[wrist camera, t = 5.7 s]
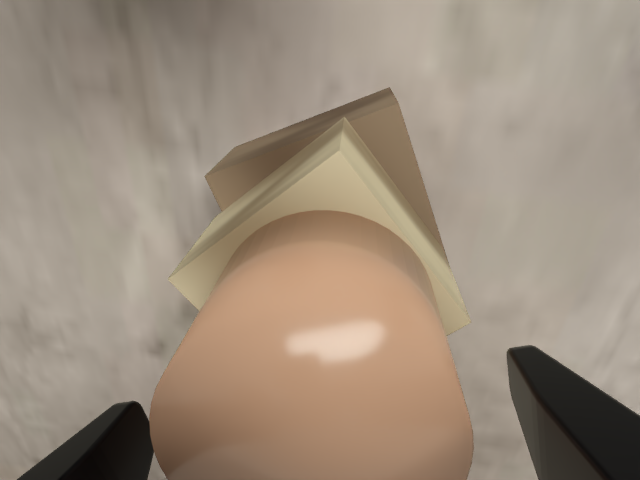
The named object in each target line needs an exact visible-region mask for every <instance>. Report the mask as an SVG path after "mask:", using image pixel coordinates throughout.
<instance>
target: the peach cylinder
mask: <svg viewBox="0 0 640 480" xmlns="http://www.w3.org/2000/svg"><path fill="white" fill-rule="evenodd" d="M149 423H150V436H151V441H152V445H153V450H154V452H155V455H156V458H157V460H158V463H159V465H160V467H161V469H162V470H163V472H164V474H165V476H166V477H167V479H168V480H466V479H467V476H468V473H469V470H470V467H471V464H472V457H473V450H474V447H473V430H472V426H471V421H470V417H469V413H468V410H467V406H466V403H465V399H464V396H463V392H462V389H461V385H460V382H459V378H458V375H457V371H456V368H455V364H454V361H453V357H452V354H451V350H450V347H449V343H448V340H447V336H446V333H445V329H444V326H443V322H442V319H441V315H440V312H439V309H438V305H437V302H436V298H435V295H434V291H433V288H432V284H431V281H430V279H429V276H428V273H427V271H426V269H425V267H424V265H423V264H422V262H421V260H420V259H419V257H418V256H417V255H416V253H415V252H414V251H413V250H412V248H411V247H410V246H409V245H408V244H407V243H406V242H405V241H403V240H402V239H401V238H400V237H399V236H398V235H396V234H395V233H393V232H392V231H391V230H389V229H388V228H386V227H384V226H382V225H380V224H379V223H377V222H375V221H372V220H370V219H367V218H365V217H362V216H359V215H355V214H351V213H347V212H340V211H332V210H313V211H305V212H298V213H295V214H291V215H287V216H284V217H281V218H279V219H276V220H274V221H271V222H269V223H268V224H266V225H264V226H262V227H261V228H259V229H258V230H256V231H255V232H254V233H252V234H251V235H250V236H248V237H247V238H246V239H245V240H244V241H243V242H242V243H241V244H240V246H239V247H238V248H237V249H236V251H235V252H234V254H233V255H232V256H231V258H230V260H229V261H228V263H227V265H226V267H225V268H224V270H223V272H222V273H221V275H220V277H219V279H218V280H217V282H216V284H215V285H214V287H213V289H212V291H211V292H210V294H209V296H208V298H207V299H206V301H205V303H204V304H203V306H202V308H201V310H200V311H199V313H198V315H197V316H196V318H195V320H194V322H193V323H192V325H191V327H190V328H189V330H188V332H187V334H186V335H185V337H184V339H183V340H182V342H181V344H180V346H179V347H178V349H177V351H176V353H175V354H174V356H173V358H172V359H171V361H170V363H169V365H168V366H167V368H166V370H165V371H164V373H163V375H162V377H161V379H160V381H159V383H158V385H157V387H156V389H155V393H154V396H153V399H152V402H151V409H150V417H149Z"/></svg>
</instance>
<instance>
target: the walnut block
mask: <svg viewBox="0 0 640 480" xmlns="http://www.w3.org/2000/svg"><path fill="white" fill-rule="evenodd" d="M343 117H345V118H346V119H347V121H348V122H349V123H350V125H351V126H352V127H353V129H354V130H355V131H356V133H357V134H358V135H359V137H360V138H361V139H362V141H363V142H364V143H365V145H366V146H367V147H368V149H369V150H370V151H371V153H372V154H373V156H374V157H375V158H376V160H377V161H378V162H379V164H380V165H381V166H382V168H383V169H384V170H385V172H386V173H387V174H388V176H389V177H390V178H391V180H392V181H393V182H394V184H395V185H396V186H397V188H398V189H399V190H400V192H401V193H402V195H403V196H404V197H405V199H406V200H407V201H408V203H409V204H410V205H411V207H412V208H413V209H414V211H415V212H416V213H417V215H418V216H419V217H420V219H421V220H422V221H423V223H424V224H425V225H426V227H427V228H428V229H429V231H430V232H431V234H432V235H433V236H434V238H435V239H436V240H437V242H438V243H439V244H440V246H441V247H442V248H443V251H444V253H445V250H444V247H443V244H442V241H441V238H440V234H439V231H438V228H437V225H436V222H435V218H434V215H433V212H432V209H431V206H430V202H429V199H428V196H427V193H426V190H425V186H424V183H423V180H422V177H421V174H420V170H419V167H418V164H417V161H416V158H415V154H414V151H413V148H412V145H411V142H410V138H409V135H408V132H407V129H406V126H405V122H404V119H403V116H402V113H401V110H400V106H399V103H398V101H397V100H396V98H395V96H394V94H393V92H392V91H391V89H390V87H389V88H387V89H384V90H381V91H379V92H376V93H374V94H371V95H369V96H366V97H363V98H361V99H358V100H356V101H353V102H350V103H348V104H345V105H343V106H340V107H337V108H335V109H332V110H330V111H327V112H325V113H322V114H319V115H317V116H314V117H312V118H309V119H306V120H304V121H301V122H299V123H296V124H294V125H291V126H288V127H286V128H283V129H281V130H278V131H275V132H273V133H270V134H268V135H265V136H262V137H260V138H257V139H255V140H252V141H250V142H247V143H244V144H242V145H239V146H237V147H235V148H233V149H232V150H231V151H230V152H229V153H228V154H227V155H226V156H225V157H224V158H223V159H222V160H221V161H220V162H219V163H218V164H217V165H216V166H215V167H214V168H213V169H212V170H211V171H210V172H209V173H207V174H206V175H205V178H206V180H207V182H208V184H209V186H210V188H211V190H212V192H213V195H214V197H215V199H216V201H217V203H218V205H219V207H220V209H221V211H224V210H225V209H226V208H228V207H229V206H230V205H231V204H233V203H234V202H235V201H237V200H238V199H239V198H240V197H242V196H243V195H244V194H246V193H247V192H248V191H249V190H251V189H252V188H253V187H255V186H256V185H257V184H258V183H260V182H261V181H262V180H264V179H265V178H266V177H267V176H269V175H270V174H271V173H273V172H274V171H275V170H276V169H278V168H279V167H280V166H282V165H283V164H284V163H286V162H287V161H288V160H289V159H291V158H292V157H293V156H295V155H296V154H297V153H298V152H300V151H301V150H302V149H304V148H305V147H306V146H307V145H309V144H310V143H311V142H313V141H314V140H315V139H316V138H318V137H319V136H320V135H322V134H323V133H324V132H325V131H327V130H328V129H329V128H331V127H332V126H333V125H334V124H336V123H337V122H338V121H340V120H341V119H342V118H343ZM445 256H446V254H445ZM446 258H447V257H446ZM447 261H448V260H447ZM448 264H449V263H448Z"/></svg>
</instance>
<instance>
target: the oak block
mask: <svg viewBox="0 0 640 480" xmlns="http://www.w3.org/2000/svg"><path fill="white" fill-rule="evenodd" d="M313 210H332V211H340V212H347V213H351V214H355V215H359V216H362V217H365V218H367V219H370V220H372V221H375V222H377V223H379V224H380V225H382V226H384V227H386V228H388V229H389V230H391V231H392V232H393V233H395V234H396V235H398V236H399V237H400V238H401V239H402V240H403V241H405V242H406V243H407V244H408V245H409V246H410V247H411V248H412V250H413V251H414V252H415V253H416V255H417V256H418V257H419V259H420V260H421V262H422V264H423V265H424V267H425V269H426V271H427V273H428V276H429V279H430V281H431V284H432V288H433V291H434V295H435V298H436V302H437V305H438V309H439V312H440V315H441V319H442V322H443V326H444V329H445V333H446V336H448V335H450V334H451V333H453V332H455V331H457V330H459V329H460V328H462V327H464V326H466V325H468V324H469V323H471V320H470V318H469V315H468V313H467V310H466V307H465V305H464V302H463V300H462V297H461V295H460V292H459V289H458V287H457V284H456V282H455V279H454V276H453V274H452V271H451V269H450V266H449V264H448V261H447V258H446V256H445V253H444V251H443V248H442V247H441V246H440V244H439V243H438V242H437V240H436V239H435V238H434V236H433V235H432V234H431V232H430V231H429V229H428V228H427V227H426V225H425V224H424V223H423V221H422V220H421V219H420V217H419V216H418V215H417V213H416V212H415V211H414V209H413V208H412V207H411V205H410V204H409V203H408V201H407V200H406V199H405V197H404V196H403V195H402V193H401V192H400V190H399V189H398V188H397V186H396V185H395V184H394V182H393V181H392V180H391V178H390V177H389V176H388V174H387V173H386V172H385V170H384V169H383V168H382V166H381V165H380V164H379V162H378V161H377V160H376V158H375V157H374V156H373V154H372V153H371V151H370V150H369V149H368V147H367V146H366V145H365V143H364V142H363V141H362V139H361V138H360V137H359V135H358V134H357V133H356V131H355V130H354V129H353V127H352V126H351V125H350V123H349V122H348V121H347V119H346V118H345V117H343V118H342V119H341V120H340V121H338V122H337V123H336V124H334V125H333V126H332V127H331V128H329V129H328V130H327V131H325V132H324V133H323V134H322V135H320V136H319V137H318V138H316V139H315V140H314V141H313V142H311V143H310V144H309V145H307V146H306V147H305V148H304V149H302V150H301V151H300V152H298V153H297V154H296V155H295V156H293V157H292V158H291V159H289V160H288V161H287V162H286V163H284V164H283V165H282V166H280V167H279V168H278V169H276V170H275V171H274V172H273V173H271V174H270V175H269V176H267V177H266V178H265V179H264V180H262V181H261V182H260V183H258V184H257V185H256V186H255V187H253V188H252V189H251V190H249V191H248V192H247V193H246V194H244V195H243V196H242V197H240V198H239V199H238V200H237V201H235V202H234V203H233V204H231V205H230V206H229V207H228V208H226V209H225V210H224V211H222V212H221V213H220V214H218V215H217V216H216V217H215V218H214V219H213V221H212V222H211V223H210V225H209V226H208V227H207V229H206V230H205V231H204V232H203V234H202V235H201V236H200V238H199V239H198V240H197V242H196V243H195V244H194V246H193V247H192V248H191V249H190V251H189V252H188V253H187V255H186V256H185V257H184V259H183V260H182V261H181V263H180V264H179V265H178V266H177V268H176V269H175V270H174V272H173V273H172V274H171V276H170V277H169V278H168V280H169V281H170V282H171V283H172V284H173V285H174V286H175V287H176V288H177V289H178V290H179V291H180V292H181V293H182V294H183V295H184V296H185V297H186V298H187V299H188V300H189V301H190V302H191V303H192V304H193V305H194V306H195V307H196V308H197V309H198V310H199V311H200V310H201V308H202V306H203V304H204V303H205V301H206V299H207V298H208V296H209V294H210V292H211V291H212V289H213V287H214V285H215V284H216V282H217V280H218V279H219V277H220V275H221V273H222V272H223V270H224V268H225V267H226V265H227V263H228V261H229V260H230V258H231V256H232V255H233V254H234V252H235V251H236V249H237V248H238V247H239V246H240V244H241V243H242V242H243V241H244V240H245V239H246V238H247V237H248V236H250V235H251V234H252V233H254V232H255V231H256V230H258V229H259V228H261V227H262V226H264V225H266V224H268V223H269V222H271V221H274V220H276V219H279V218H281V217H284V216H287V215H291V214H295V213H298V212H305V211H313Z"/></svg>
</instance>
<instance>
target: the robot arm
mask: <svg viewBox="0 0 640 480" xmlns="http://www.w3.org/2000/svg"><path fill="white" fill-rule="evenodd" d="M507 365H508V375H509V385H510V392H511V396H512V400H513V403H514V406H515V409H516V412H517V415H518V418H519V422H520V425H521V428H522V431H523V434H524V437H525V440H526V443H527V446H528V449H529V452H530V455H531V458H532V461H533V464H534V467H535V470H536V473H537V476H538V479H539V480H640V415H638V414H636V413H635V412H633V411H632V410H630V409H629V408H627V407H626V406H624V405H623V404H621V403H620V402H618V401H617V400H615V399H614V398H612V397H611V396H609V395H608V394H606V393H605V392H603V391H602V390H600V389H599V388H597V387H596V386H594V385H593V384H591V383H590V382H588V381H587V380H585V379H584V378H582V377H581V376H579V375H577V374H576V373H574V372H573V371H571V370H570V369H568V368H567V367H565V366H564V365H562V364H561V363H559V362H558V361H556V360H555V359H553V358H552V357H550V356H549V355H547V354H546V353H544V352H543V351H541V350H540V349H538V348H537V347H535V346H532V345H528V346H521V347H513V348H509V349H508V351H507ZM153 454H154V450H153V445H152V441H151V436H150V423H149V420H148V418H147V416H146V414H145V412H144V410H143V408H142V406H141V405H140V404H139V403H138V402H136V401H130V402H123V403H117V404H115V405H113V406H112V407H110V408H109V409H108V410H106V411H105V412H104V413H102V414H101V415H100V416H99V417H97V418H96V419H95V420H93V421H92V422H91V423H89V424H88V425H87V426H86V427H84V428H83V429H82V430H80V431H79V432H78V433H77V434H75V435H74V436H73V437H71V438H70V439H69V440H67V441H66V442H65V443H64V444H62V445H61V446H60V447H58V448H57V449H56V450H54V451H53V452H52V453H51V454H49V455H48V456H47V457H45V458H44V459H43V460H41V461H40V462H39V463H38V464H36V465H35V466H34V467H32V468H31V469H30V470H29V471H27V472H26V473H25V474H23V475H22V476H21V477H19V478H18V479H17V480H147V479H148V474H149V470H150V466H151V462H152V458H153Z"/></svg>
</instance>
